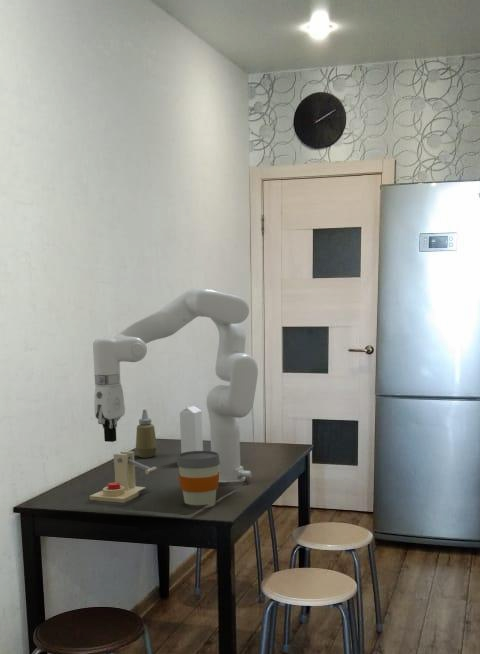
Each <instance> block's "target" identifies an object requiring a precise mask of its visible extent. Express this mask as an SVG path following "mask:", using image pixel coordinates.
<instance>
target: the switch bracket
mask: <svg viewBox="0 0 480 654" xmlns="http://www.w3.org/2000/svg"><path fill="white" fill-rule="evenodd" d="M122 453H124V454H122ZM127 455H129V456H130V459H131V460H134V461H135V451H126V450H120V452H119V453H113V466H114V467H113V468H114V469H113V470H114V482H118V483H120V486H124V487H125V491H135V492H140V491H142V490H145V489H147V487H146V486H137V485H136V484H137V481H136V466H135V465H133V464H130V463H128V456H127Z"/></svg>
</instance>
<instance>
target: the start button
mask: <svg viewBox="0 0 480 654" xmlns="http://www.w3.org/2000/svg"><path fill="white" fill-rule="evenodd" d="M107 487H108V489H109V490H116V489H120V483H118V482H115V481H114V482H113V481H112V482H108V483H107Z"/></svg>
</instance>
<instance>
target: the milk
mask: <svg viewBox="0 0 480 654" xmlns="http://www.w3.org/2000/svg"><path fill="white" fill-rule="evenodd" d="M202 413H203V412H202V410H201V409H200V408H199V407H197V406H195V401H191V402H188V403H186V408H184V409H183V410H182V411H180V412H179V430H180V450H181V452H180V454H181V453H184V452H190V451H204V442H203V441H204V440H203V439H204V438H203V437H204V435H203V414H202Z"/></svg>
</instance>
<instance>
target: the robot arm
mask: <svg viewBox="0 0 480 654" xmlns="http://www.w3.org/2000/svg"><path fill="white" fill-rule="evenodd" d="M249 307H250V306H249V303H248V302H247V300H245V298H243V297H242V296H239V295H235V294H229V293H226V292H221V291H217V290H214V289H210V288H190V289H187V290H185V291H183V292H182V293H180V294H179V295H178V296H177V297H175V298H173V299H172V300H171V301H169V302H168V303H166V304H165V305H164V306H162V307H161V308H160V309H158V310H157V311H155V312H153V313H152V314H149V315H147V316H145V317H144V318H141V319H140V320H138V321H136V322H134V323H132V324H130V325H129V326H127V327H126V328H124V329H122V330H121V331H120V332H118V334H116V335H115V336H113V338H111V337H106V338H105V337H103V338H96V339H94V341H93V342H92V352H93V353H92V354H93V370H94V372H93V373H94V375H93V376H94V404H93V406H94V407H93V408H94V416H95V419H97V423H98V425H101V426H102V429H103V438H104V439H103V440H104V442H107V443H108V442H109V443H114V442H117V428H118V421H120V420H121V417H123V416H125V414H126V408H125V407H126V406H125V397H124V390H123V387H122V386H123V385H122V382H121V365H120V363H122V362H124V363H138V362H140V361H142V360H144V359H145V357H146V355H147V353H148V347H147V344H148V343H150V342H153V341H156V340H161V339H165V338H167V337H171V336H173V335H175V334H176V333H178V331H180V330H181V329H182V328H184V327H185V326H186V325H188V324H189V323H191V322H192V321H193V320H195V319H197V318H198V317H199V318H200V317H202V318H203V317H204V318H209V319H210V320H211V321H212V322H213V323H214V324H215V326H216V328H217V331H218V337H219V338H218V347H217V354H216V360H215V368H214V370H215V374H216V377H217V378H218V379H219V380H222V381H225V382H228V383H229V385H226V384H219V385H216V386H213V387H212V388H211V389H210V390H209V391H208V393H207V396H206V407H207V412H208V418H209V429H210V430H209V431H210V451H213V452H217V453H218V454H219V460H220V464H219V468H218V472H219V483H234V482H237V483H244V482H245V481H246V478H249V479H251V478H252V475H253V473H252V471H251V470H245V469H244V466H243V465H241V439H240V435H241V433H240V432H241V431H240V421H239V420H238V419H241V418H244V417H246V416H248V415H249V413H250V412H251V410H252V408H253V405H254V403H255V397H256V389H257V383H258V378H259V377H258V375H259V368H258V363H257V362H256V359H255V358H254V357H253V356H252V355H251V354H248V353H245V350H246V338H247V337H246V330H245V326H244V324H243V322H245V321H246V320H247V318H248V317H249V314H250V308H249Z"/></svg>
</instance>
